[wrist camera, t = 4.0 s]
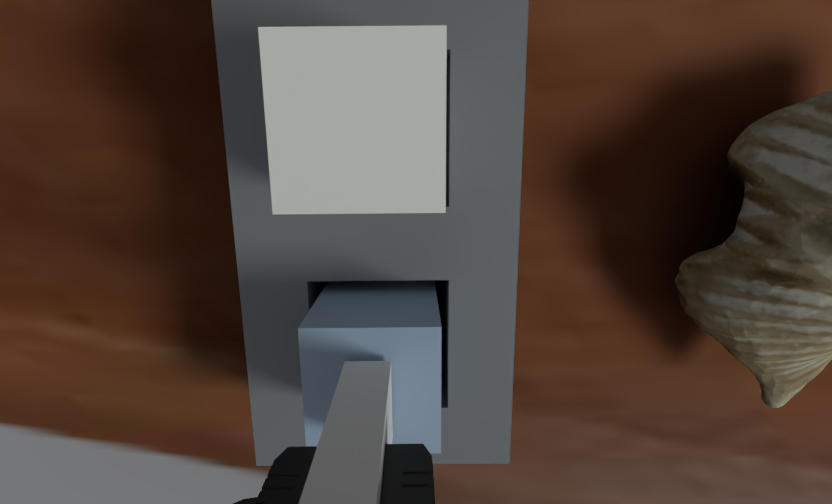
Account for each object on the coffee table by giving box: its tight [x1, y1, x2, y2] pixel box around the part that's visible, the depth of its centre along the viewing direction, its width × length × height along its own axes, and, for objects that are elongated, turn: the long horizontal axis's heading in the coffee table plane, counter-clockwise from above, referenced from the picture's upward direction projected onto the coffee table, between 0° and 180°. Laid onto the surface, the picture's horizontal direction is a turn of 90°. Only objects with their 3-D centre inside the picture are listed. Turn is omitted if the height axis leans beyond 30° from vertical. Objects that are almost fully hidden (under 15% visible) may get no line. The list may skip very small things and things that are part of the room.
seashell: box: [674, 91, 832, 408], centre depth 21 cm, size 14×9×10 cm
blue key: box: [298, 280, 442, 453], centre depth 19 cm, size 5×5×7 cm
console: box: [211, 0, 529, 466], centre depth 20 cm, size 28×11×6 cm, turn 1°
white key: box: [258, 25, 447, 215], centre depth 15 cm, size 5×5×7 cm
